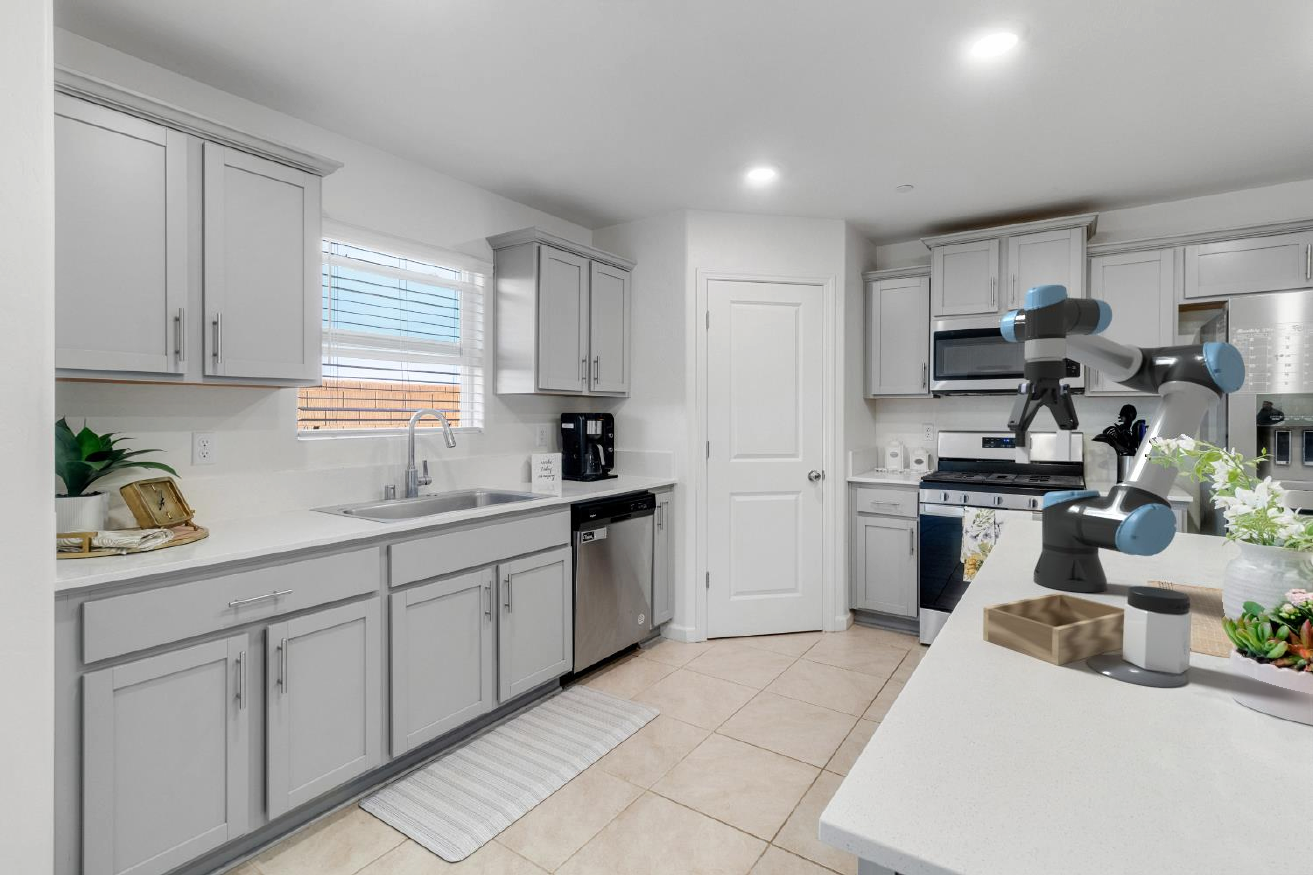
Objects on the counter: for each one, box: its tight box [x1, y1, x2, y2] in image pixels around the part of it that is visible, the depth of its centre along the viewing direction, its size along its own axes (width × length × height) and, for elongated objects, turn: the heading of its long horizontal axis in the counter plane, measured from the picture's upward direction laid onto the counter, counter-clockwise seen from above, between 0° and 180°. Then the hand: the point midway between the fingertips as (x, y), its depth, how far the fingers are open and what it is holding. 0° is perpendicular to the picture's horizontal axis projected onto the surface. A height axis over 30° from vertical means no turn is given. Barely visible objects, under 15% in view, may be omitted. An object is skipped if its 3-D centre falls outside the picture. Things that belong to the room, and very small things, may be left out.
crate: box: [982, 592, 1124, 666], centre depth 119 cm, size 22×14×6 cm, turn 116°
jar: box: [1122, 585, 1193, 674], centre depth 108 cm, size 9×8×12 cm
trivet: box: [1087, 653, 1188, 688], centre depth 106 cm, size 13×13×1 cm
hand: (1043, 461), depth 138 cm, fingers open, 13 cm apart
